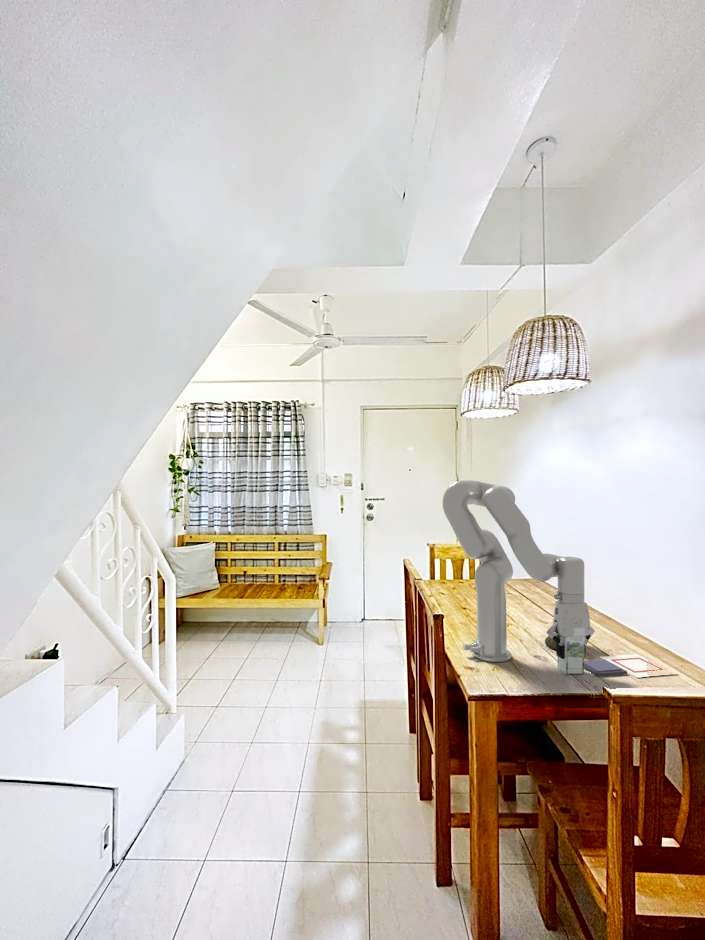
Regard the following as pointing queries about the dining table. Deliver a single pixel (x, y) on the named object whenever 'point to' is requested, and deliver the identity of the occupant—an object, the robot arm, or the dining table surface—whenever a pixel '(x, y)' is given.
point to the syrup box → (573, 653)
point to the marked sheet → (631, 664)
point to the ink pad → (603, 668)
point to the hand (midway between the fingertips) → (570, 656)
